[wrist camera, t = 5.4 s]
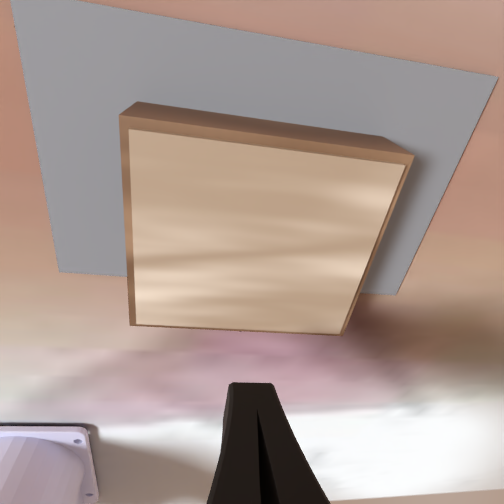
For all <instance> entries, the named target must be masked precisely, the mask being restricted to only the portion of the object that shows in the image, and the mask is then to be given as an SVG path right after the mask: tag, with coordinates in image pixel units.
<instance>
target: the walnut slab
mask: <svg viewBox="0 0 504 504" xmlns="http://www.w3.org/2000/svg"><path fill="white" fill-rule="evenodd" d="M119 133H120V151H121V170H122V189H123V208H124V227H125V246H126V264H127V283H128V302H129V321H130V326H147V327H168V328H188V329H209V330H230V331H250V332H271V333H291V334H312V335H332V336H343V334H344V331H345V329H346V326H347V324H348V321H349V319H350V316H351V314H352V311H353V309H354V306H355V304H356V301H357V299H358V296H359V294H360V291H361V289H362V286H363V284H364V281H365V279H366V276H367V274H368V271H369V269H370V266H371V264H372V261H373V259H374V256H375V254H376V251H377V249H378V246H379V244H380V241H381V239H382V236H383V234H384V231H385V229H386V226H387V224H388V221H389V219H390V216H391V214H392V211H393V209H394V206H395V204H396V201H397V199H398V196H399V194H400V191H401V189H402V186H403V184H404V181H405V179H406V176H407V174H408V171H409V169H410V166H411V164H412V161H413V159H414V156H415V155H413V154H412V153H410V152H408V151H407V150H405V149H403V148H402V147H400V146H398V145H396V144H395V143H393V142H391V141H390V140H388V139H386V138H385V137H383V136H376V135H369V134H362V133H355V132H348V131H341V130H334V129H327V128H321V127H314V126H307V125H300V124H293V123H286V122H279V121H272V120H265V119H258V118H251V117H244V116H237V115H230V114H223V113H216V112H209V111H202V110H195V109H188V108H181V107H174V106H167V105H160V104H153V103H146V102H139V101H137V102H135V103H134V104H133V105H131V106H130V107H129V108H127V109H126V110H125V111H123V112H122V113H120V114H119Z"/></svg>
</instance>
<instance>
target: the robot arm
mask: <svg viewBox="0 0 504 504" xmlns="http://www.w3.org/2000/svg"><path fill="white" fill-rule="evenodd" d="M98 498H99V492H98V487H97V481H96V476H95V470H94V465H93V459H92V454H91V448H90V442H89V437H88V431H87V430H86V429H85V428H83V427H72V426H0V504H95V503H96V502H98ZM207 504H330V502H329V500H328V498H327V497H326V495H325V493H324V491H323V490H322V488H321V486H320V484H319V482H318V481H317V479H316V477H315V475H314V473H313V472H312V470H311V468H310V466H309V464H308V462H307V460H306V458H305V456H304V454H303V452H302V450H301V448H300V446H299V444H298V442H297V440H296V438H295V436H294V434H293V431H292V429H291V427H290V425H289V422H288V420H287V418H286V416H285V413H284V411H283V409H282V406H281V404H280V401H279V398H278V396H277V393H276V390H275V387H274V385H273V384H272V383H237V382H233V383H231V384H229V387H228V393H227V399H226V405H225V411H224V417H223V433H222V444H221V452H220V457H219V461H218V465H217V468H216V472H215V476H214V479H213V483H212V487H211V490H210V494H209V497H208V500H207Z"/></svg>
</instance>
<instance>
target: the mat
mask: <svg viewBox="0 0 504 504" xmlns="http://www.w3.org/2000/svg"><path fill="white" fill-rule="evenodd" d="M10 1H11V7H12V12H13V18H14V23H15V29H16V35H17V40H18V46H19V51H20V57H21V62H22V68H23V73H24V79H25V85H26V90H27V96H28V101H29V107H30V112H31V118H32V124H33V129H34V135H35V140H36V146H37V151H38V157H39V162H40V168H41V174H42V179H43V185H44V190H45V196H46V201H47V207H48V212H49V218H50V224H51V229H52V235H53V240H54V246H55V251H56V257H57V262H58V268H59V272H65V273H80V274H94V275H109V276H123V277H127V264H126V246H125V227H124V208H123V189H122V170H121V151H120V133H119V114H120V113H122V112H123V111H125V110H126V109H127V108H129V107H130V106H131V105H133V104H134V103H135V102H137V101H139V102H146V103H153V104H160V105H167V106H174V107H181V108H188V109H195V110H202V111H209V112H216V113H223V114H230V115H237V116H244V117H251V118H258V119H265V120H272V121H279V122H286V123H293V124H300V125H307V126H314V127H321V128H327V129H334V130H341V131H348V132H355V133H362V134H369V135H376V136H383V137H385V138H386V139H388V140H390V141H391V142H393V143H395V144H396V145H398V146H400V147H402V148H403V149H405V150H407V151H408V152H410V153H412V154H413V155H415V156H414V159H413V161H412V164H411V166H410V169H409V171H408V174H407V176H406V179H405V181H404V184H403V186H402V189H401V191H400V194H399V196H398V199H397V201H396V204H395V206H394V209H393V211H392V214H391V216H390V219H389V221H388V224H387V226H386V229H385V231H384V234H383V236H382V239H381V241H380V244H379V246H378V249H377V251H376V254H375V256H374V259H373V261H372V264H371V266H370V269H369V271H368V274H367V276H366V279H365V281H364V284H363V286H362V289H361V291H360V293H368V294H383V295H396V293H397V291H398V289H399V287H400V285H401V283H402V281H403V279H404V276H405V274H406V272H407V270H408V268H409V266H410V264H411V262H412V259H413V257H414V255H415V253H416V251H417V249H418V247H419V245H420V243H421V240H422V238H423V236H424V234H425V232H426V230H427V228H428V226H429V223H430V221H431V219H432V217H433V215H434V213H435V211H436V209H437V207H438V204H439V202H440V200H441V198H442V196H443V194H444V192H445V190H446V187H447V185H448V183H449V181H450V179H451V177H452V175H453V173H454V171H455V168H456V166H457V164H458V162H459V160H460V158H461V156H462V154H463V151H464V149H465V147H466V145H467V143H468V141H469V139H470V137H471V135H472V132H473V130H474V128H475V126H476V124H477V122H478V120H479V118H480V115H481V113H482V111H483V109H484V107H485V105H486V103H487V101H488V99H489V96H490V94H491V92H492V90H493V88H494V86H495V84H496V82H497V79H498V77H496V76H490V75H485V74H479V73H474V72H468V71H463V70H457V69H452V68H446V67H441V66H435V65H430V64H424V63H419V62H413V61H408V60H402V59H397V58H391V57H386V56H380V55H375V54H369V53H363V52H358V51H352V50H347V49H341V48H336V47H330V46H325V45H319V44H314V43H308V42H303V41H297V40H292V39H286V38H281V37H275V36H270V35H264V34H259V33H253V32H248V31H242V30H237V29H231V28H226V27H220V26H215V25H209V24H204V23H198V22H193V21H187V20H182V19H176V18H171V17H165V16H160V15H154V14H149V13H143V12H138V11H132V10H127V9H121V8H116V7H110V6H105V5H99V4H93V3H88V2H82V1H77V0H10Z"/></svg>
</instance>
